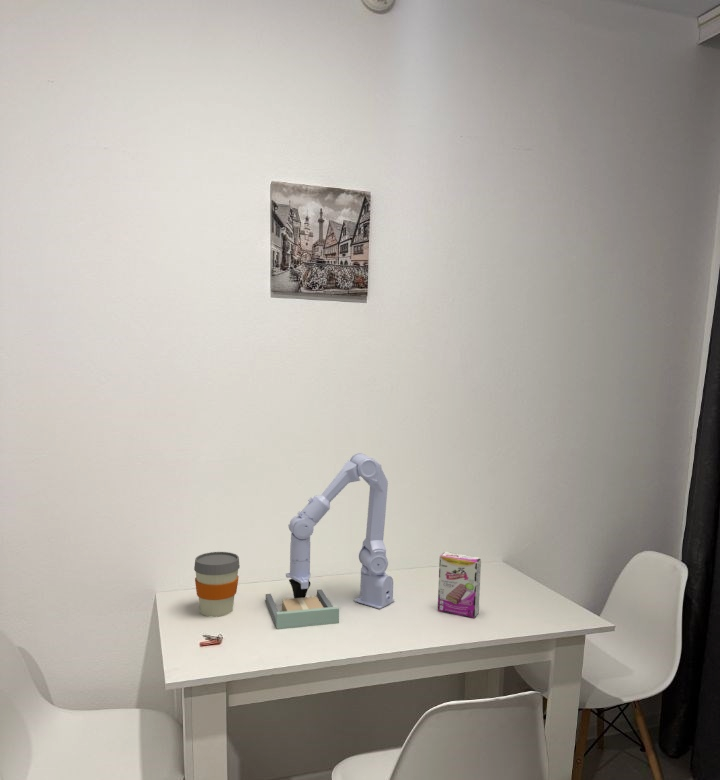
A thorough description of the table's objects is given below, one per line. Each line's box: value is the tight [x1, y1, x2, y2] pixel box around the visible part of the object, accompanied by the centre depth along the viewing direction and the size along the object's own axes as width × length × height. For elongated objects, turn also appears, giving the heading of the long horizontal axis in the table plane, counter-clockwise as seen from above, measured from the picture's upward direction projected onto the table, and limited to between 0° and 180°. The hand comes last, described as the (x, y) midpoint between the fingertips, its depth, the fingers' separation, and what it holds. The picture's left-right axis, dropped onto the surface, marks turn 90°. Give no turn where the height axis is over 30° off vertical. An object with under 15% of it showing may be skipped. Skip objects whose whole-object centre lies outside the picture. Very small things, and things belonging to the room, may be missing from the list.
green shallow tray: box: [265, 589, 340, 630], centre depth 181 cm, size 20×17×4 cm
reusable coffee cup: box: [193, 551, 240, 618], centre depth 180 cm, size 12×12×15 cm
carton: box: [281, 595, 324, 612], centre depth 178 cm, size 9×10×4 cm
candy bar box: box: [437, 551, 482, 619], centre depth 183 cm, size 11×5×16 cm, turn 65°
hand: (299, 604), depth 183 cm, fingers closed
